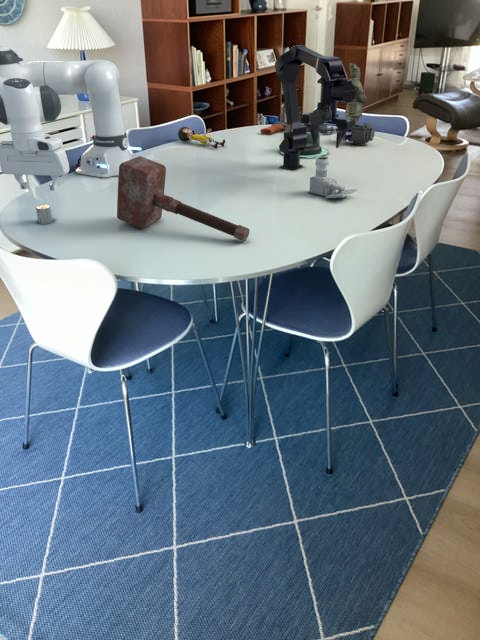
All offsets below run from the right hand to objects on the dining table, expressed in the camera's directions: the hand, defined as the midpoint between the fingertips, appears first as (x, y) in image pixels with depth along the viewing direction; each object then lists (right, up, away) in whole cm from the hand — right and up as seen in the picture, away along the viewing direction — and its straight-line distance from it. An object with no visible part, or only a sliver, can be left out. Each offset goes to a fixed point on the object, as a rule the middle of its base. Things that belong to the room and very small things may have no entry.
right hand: (326, 146), depth 194 cm
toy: (+21, +17, +52) cm, 59 cm away
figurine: (-48, +19, +58) cm, 77 cm away
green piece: (-3, +10, +41) cm, 42 cm away
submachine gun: (-4, +28, +71) cm, 77 cm away
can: (-89, -31, -25) cm, 98 cm away
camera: (0, -20, -10) cm, 22 cm away
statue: (+25, +31, +75) cm, 85 cm away
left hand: (-90, -22, -31) cm, 97 cm away
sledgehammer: (-46, -36, -35) cm, 68 cm away
